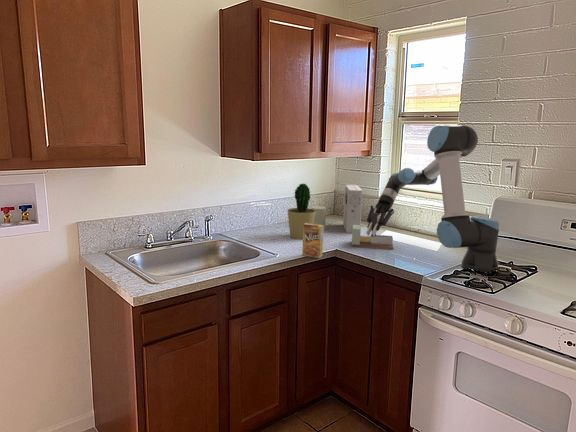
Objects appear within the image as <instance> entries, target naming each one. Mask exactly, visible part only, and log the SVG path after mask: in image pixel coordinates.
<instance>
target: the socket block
mask: <svg viewBox="0 0 576 432" xmlns="http://www.w3.org/2000/svg"><path fill="white" fill-rule="evenodd" d="M361 226H362V225H361V224H360V225H353V232H352V233H351V234H352V236H351V245H352V244H356V245H360V236H361V231H362V230H361V229H362V227H361Z"/></svg>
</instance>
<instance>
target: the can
mask: <svg viewBox="0 0 576 432" xmlns="http://www.w3.org/2000/svg"><path fill="white" fill-rule="evenodd" d="M310 209H314V210H316V212H315V218H314V223H313V224H320V225H324V228H326V219H327V218H326V217H327V207H326V206H322V205H313V206H311V208H310Z"/></svg>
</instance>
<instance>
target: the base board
mask: <svg viewBox="0 0 576 432" xmlns="http://www.w3.org/2000/svg"><path fill="white" fill-rule="evenodd" d="M351 247H352V248H353V247H354V248H368V249H369V248H370V249H382V250H394V244H393V242H392V245H378V244H370V242H360V245H356V244H352V243H351Z"/></svg>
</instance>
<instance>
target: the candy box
mask: <svg viewBox="0 0 576 432" xmlns="http://www.w3.org/2000/svg"><path fill="white" fill-rule="evenodd" d="M324 229H325V227H324V225H320V224H311V223H305V224H304V227H303V239H302V249H301V250H302V251H301V255H302V256H303V257H304V256H305V257H311V258H316V259H320V258H322V257H323V249H324V248H323V247H324V245H323V244H324Z"/></svg>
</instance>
